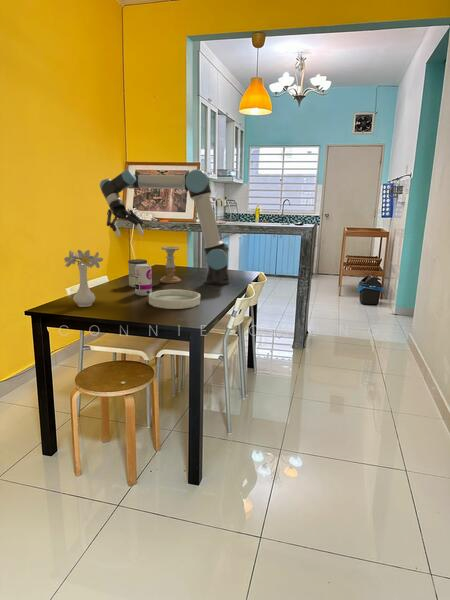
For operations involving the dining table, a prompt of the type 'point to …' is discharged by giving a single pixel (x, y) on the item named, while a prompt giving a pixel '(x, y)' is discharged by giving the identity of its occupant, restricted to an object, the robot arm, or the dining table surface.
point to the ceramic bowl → (174, 299)
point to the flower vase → (83, 275)
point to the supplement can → (143, 279)
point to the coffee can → (132, 266)
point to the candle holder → (170, 266)
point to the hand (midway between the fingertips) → (131, 235)
